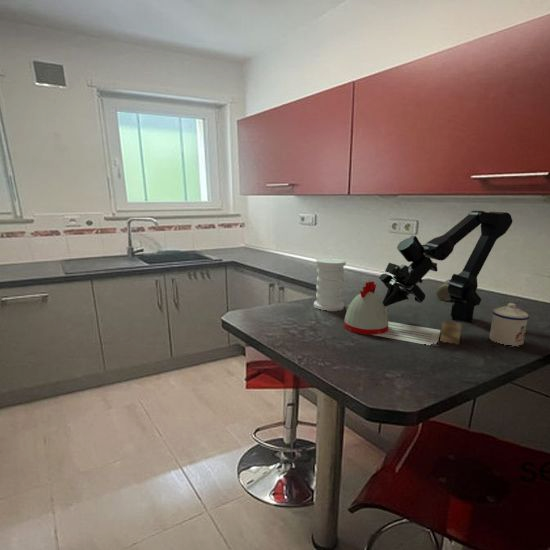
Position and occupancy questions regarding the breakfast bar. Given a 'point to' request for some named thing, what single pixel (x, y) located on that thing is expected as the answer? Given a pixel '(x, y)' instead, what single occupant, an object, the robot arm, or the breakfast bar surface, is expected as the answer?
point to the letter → (411, 333)
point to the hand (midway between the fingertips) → (383, 305)
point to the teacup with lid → (508, 325)
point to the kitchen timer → (367, 313)
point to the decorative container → (329, 284)
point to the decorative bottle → (443, 292)
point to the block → (450, 332)
